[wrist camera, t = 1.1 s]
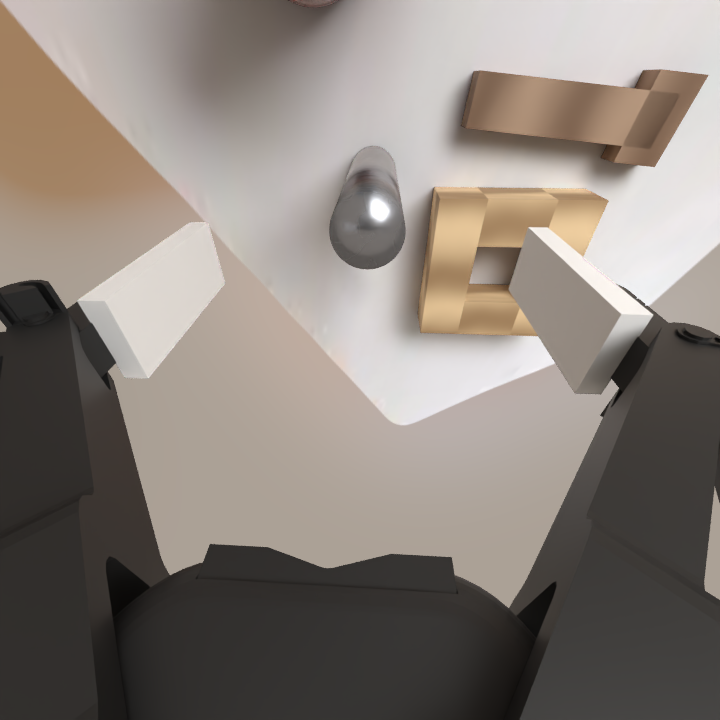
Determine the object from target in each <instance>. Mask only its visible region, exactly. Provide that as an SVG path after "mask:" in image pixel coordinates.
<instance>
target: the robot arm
mask: <svg viewBox="0 0 720 720" xmlns="http://www.w3.org/2000/svg"><path fill="white" fill-rule="evenodd" d="M224 284H225V280H224V276H223V273H222V269H221V266H220V262H219V258H218V255H217V252H216V248H215V245H214V241H213V237H212V234H211V230H210V227H209V223H208V222H190V223H188V224H187V225H185V226H184V227H182V228H181V229H180V230H178V231H177V232H175V233H174V234H172V235H171V236H169V237H168V238H167V239H165V240H164V241H162V242H161V243H159V244H158V245H157V246H155V247H153V248H152V249H151V250H149V251H148V252H146V253H145V254H143V255H142V256H140V257H139V258H138V259H136V260H135V261H134V262H132V263H130V264H129V265H127V266H126V267H124V268H123V269H122V270H120V271H119V272H117V273H116V274H115V275H113V276H111V277H110V278H109V279H107V280H106V281H104V282H103V283H101V284H100V285H98V286H97V287H96V288H94V289H93V290H91V291H90V292H88V293H87V294H85V295H84V296H82V297H81V298H80V299H78V300H77V302H76V303H75V304H74V305H72V306H71V307H69V308H68V309H66V307H65V306H64V304H63V303H62V301H61V300H60V298H59V297H58V295H57V294H56V292H55V291H54V289H53V288H52V286H51V285H50V283H49V282H48V281H43V280H29V281H23V282H18V283H14V284H10V285H7V286H4V287H2V288H0V320H1V321H2V323H3V324H4V325H5V326H6V327H7V329H6V332H0V720H720V600H719V599H717V598H716V597H714V596H712V595H711V594H709V593H708V592H706V591H705V589H704V578H705V577H704V576H705V569H706V568H705V567H706V558H707V550H708V541H709V532H710V523H711V514H712V504H713V495H714V486H715V488H716V491H717V495H718V499H719V502H720V336H718V335H716V334H715V333H713V332H711V331H709V330H706V329H704V328H702V327H698V326H694V325H690V324H686V323H675V322H674V323H668V322H667V321H666V320H664V319H663V318H662V317H661V316H659V315H658V314H657V313H656V312H654V311H653V310H652V309H651V308H650V307H648V306H645V303H643V302H642V301H641V300H640V299H636V298H637V297H636V296H635V295H633V294H632V293H631V292H630V291H629V290H627V289H626V288H624V287H622V286H620V285H617V284H615V283H614V282H613V281H612V280H611V279H609V278H608V277H607V276H606V275H604V274H603V273H602V272H601V271H600V270H598V269H597V268H596V267H595V266H594V265H592V264H591V263H590V262H589V261H588V260H586V259H585V258H584V257H583V256H581V255H580V254H579V253H578V252H577V251H575V250H574V249H573V248H572V247H571V246H569V245H568V244H567V243H566V242H565V241H563V240H562V239H561V238H560V237H558V236H557V235H556V234H555V233H554V232H552V231H551V230H550V229H549V228H547V227H528V229H527V232H526V236H525V239H524V242H523V245H522V248H521V251H520V255H519V258H518V261H517V264H516V267H515V270H514V274H513V277H512V280H511V283H510V286H509V289H508V290H509V291H510V293H511V294H512V296H513V297H514V299H515V301H516V302H517V304H518V305H519V307H520V308H521V310H522V312H523V313H524V315H525V316H526V318H527V319H528V321H529V323H530V324H531V326H532V327H533V329H534V330H535V332H536V333H537V335H538V337H539V338H540V340H541V341H542V343H543V344H544V346H545V348H546V349H547V351H548V352H549V354H550V355H551V357H552V359H553V360H554V362H555V363H556V365H557V366H558V368H559V370H560V371H561V373H562V374H563V376H564V377H565V379H566V380H567V382H568V384H569V385H570V387H571V388H572V390H573V391H574V393H576V394H602V392H603V390H604V389H605V388H606V386H607V385H608V383H609V381H610V380H611V379H612V380H613V381H614V382H615V383H616V385H617V386H618V387H619V389H618V391H617V392H616V393H615V395H614V396H613V398H612V399H611V401H610V402H609V404H608V405H607V406H606V408H605V409H604V411H603V412H602V413H601V415H600V416H602V417H603V419H602V421H601V423H600V425H599V427H598V430H597V432H596V434H595V436H594V438H593V440H592V442H591V444H590V446H589V449H588V451H587V453H586V455H585V457H584V459H583V461H582V463H581V466H580V468H579V470H578V472H577V474H576V476H575V479H574V480H573V482H572V485H571V487H570V489H569V491H568V493H567V495H566V497H565V499H564V502H563V504H562V506H561V508H560V510H559V512H558V514H557V516H556V518H555V521H554V523H553V525H552V527H551V529H550V531H549V533H548V535H547V538H546V540H545V542H544V544H543V546H542V548H541V550H540V553H539V554H538V557H537V559H536V561H535V563H534V565H533V567H532V570H531V571H530V574H529V575H528V578H527V580H526V581H525V583H524V585H523V587H522V588H521V590H520V591H519V593H518V594H517V596H516V597H515V599H514V600H513V603H512V604H511V606H510V608H508V607H506V606H505V605H504V604H503V603H502V602H500V601H499V600H498V599H497V598H495V597H494V596H493V595H491V594H490V593H488V592H487V591H485V590H484V589H482V588H481V587H479V586H477V585H475V584H473V583H471V582H469V581H467V580H465V579H463V578H461V577H458V576H455V575H454V569H453V563H452V558H451V557H436V556H435V557H434V556H418V555H400V554H389V555H385V556H381V557H377V558H373V559H368V560H365V561H360V562H356V563H352V564H348V565H343V566H339V567H335V568H322V567H319V566H316V565H314V564H311V563H309V562H306V561H303V560H301V559H298V558H295V557H292V556H290V555H287V554H284V553H282V552H279V551H276V550H273V549H271V548H268V547H253V546H235V545H234V546H233V545H215V544H210V545H209V548H208V551H207V554H206V556H205V559H204V561H203V563H199V564H196V565H193V566H191V567H188V568H185V569H182V570H181V571H178V572H176V573H174V574H172V575H169V573H168V571H167V570H166V568H165V566H164V564H163V561H162V559H161V556H160V553H159V549H158V545H157V542H156V538H155V534H154V530H153V527H152V523H151V519H150V515H149V511H148V508H147V504H146V500H145V496H144V493H143V489H142V485H141V482H140V478H139V474H138V471H137V467H136V463H135V459H134V456H133V452H132V448H131V444H130V441H129V437H128V433H127V429H126V425H125V422H124V418H123V414H122V411H121V407H120V403H119V399H118V396H117V392H116V388H115V385H114V381H113V379H112V378H111V376H110V375H109V373H108V370H109V369H110V368H111V367H112V366H113V365H114V364H115V363H116V365H117V366H118V368H119V370H120V371H121V373H122V374H123V376H124V377H125V378H143V379H148V378H149V377H150V376H151V375H152V373H153V372H154V371H155V370H156V369H157V367H158V366H159V365H160V364H161V362H162V361H163V360H164V359H165V357H166V356H167V355H168V354H169V352H170V351H171V350H172V349H173V347H174V346H175V345H176V344H177V342H178V341H179V340H180V339H181V338H182V336H183V335H184V334H185V333H186V331H187V330H188V329H189V328H190V326H191V325H192V324H193V323H194V321H195V320H196V319H197V318H198V316H199V315H200V314H201V313H202V311H203V310H204V309H205V308H206V306H207V305H208V304H209V303H210V302H211V300H212V299H213V298H214V297H215V295H216V294H217V293H218V292H219V291H220V289H221V288H222V287H223V285H224Z"/></svg>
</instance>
